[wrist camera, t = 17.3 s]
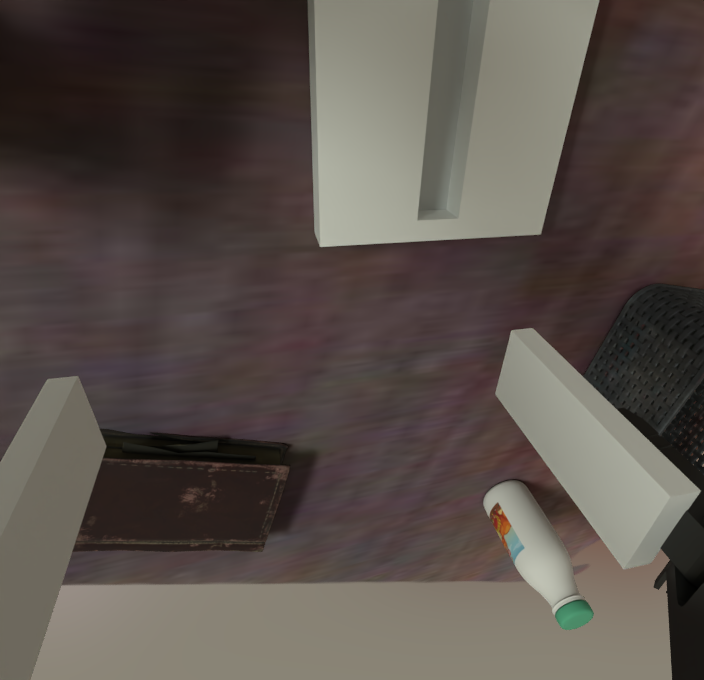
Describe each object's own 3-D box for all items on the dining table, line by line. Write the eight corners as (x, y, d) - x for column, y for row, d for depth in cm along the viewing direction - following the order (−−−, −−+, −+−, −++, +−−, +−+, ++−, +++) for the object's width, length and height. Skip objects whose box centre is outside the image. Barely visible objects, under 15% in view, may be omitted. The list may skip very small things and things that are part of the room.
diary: (260, 525, 67) (261, 557, 63) (71, 522, 59) (58, 558, 55) (289, 435, 58) (292, 465, 54) (70, 417, 50) (54, 451, 46)
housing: (314, 232, 44) (320, 246, 40) (301, -193, 29) (308, -226, 25) (520, 221, 47) (540, 234, 44) (604, -158, 32) (644, -183, 29)
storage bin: (637, 447, 74) (706, 516, 63) (539, 446, 69) (595, 521, 58) (747, 293, 60) (860, 347, 49) (634, 278, 55) (732, 334, 44)
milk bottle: (499, 474, 70) (577, 603, 54) (534, 482, 73) (618, 606, 57) (472, 506, 74) (538, 637, 57) (507, 512, 77) (579, 638, 60)
